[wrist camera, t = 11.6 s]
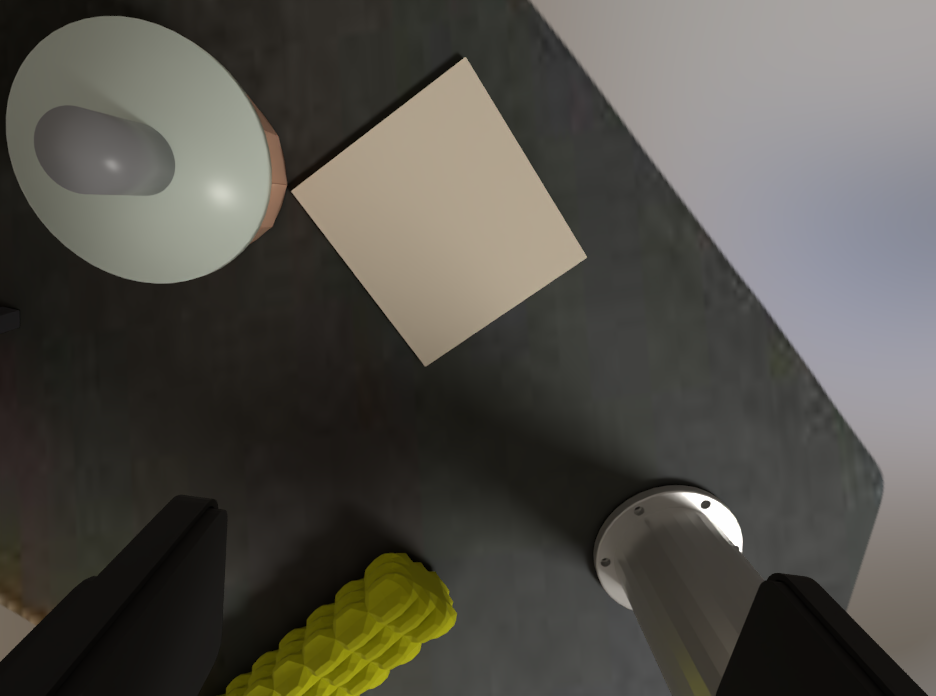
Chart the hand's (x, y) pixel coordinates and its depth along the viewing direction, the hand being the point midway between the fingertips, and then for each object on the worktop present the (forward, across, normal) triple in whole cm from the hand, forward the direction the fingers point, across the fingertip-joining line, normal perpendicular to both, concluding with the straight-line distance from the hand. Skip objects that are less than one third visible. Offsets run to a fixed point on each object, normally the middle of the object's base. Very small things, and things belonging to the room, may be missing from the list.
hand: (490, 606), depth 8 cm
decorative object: (+29, +9, +34) cm, 45 cm away
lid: (+22, +18, -6) cm, 29 cm away
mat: (+28, +2, -5) cm, 28 cm away
